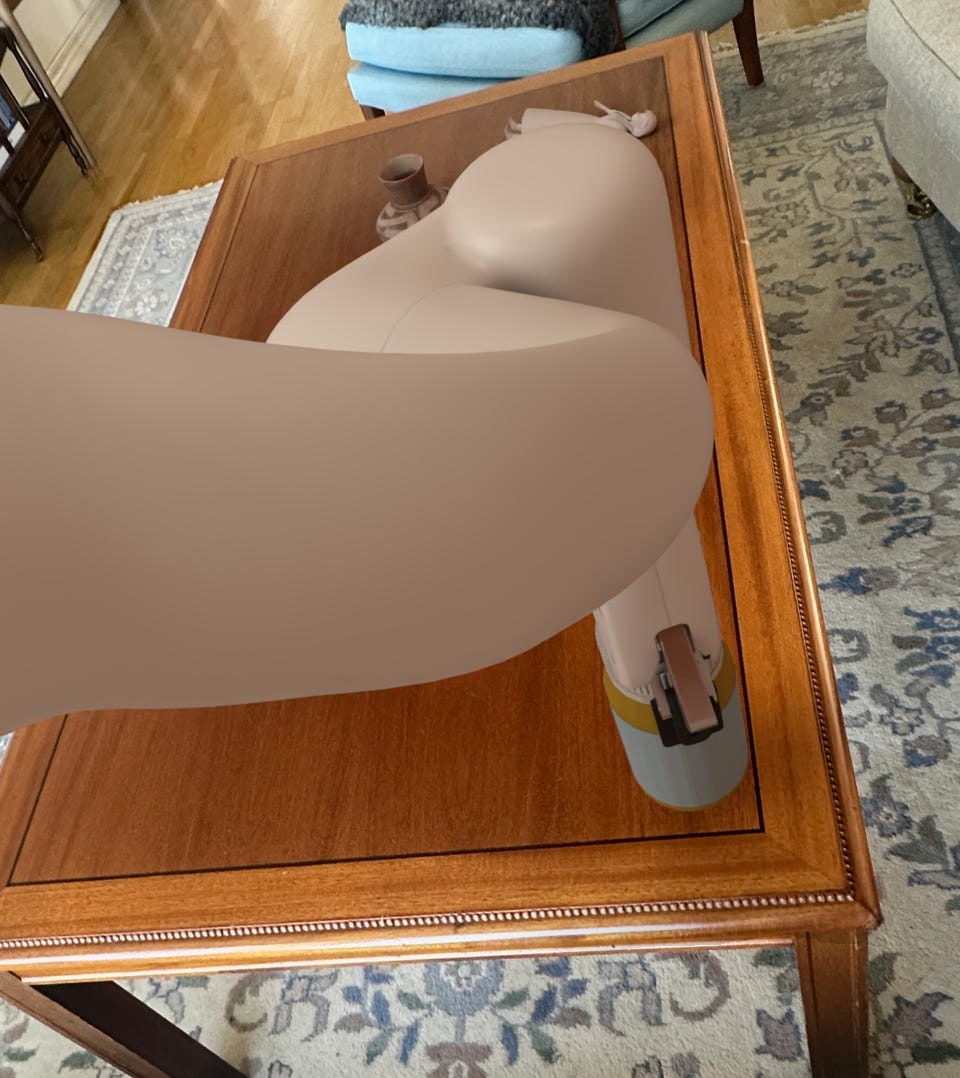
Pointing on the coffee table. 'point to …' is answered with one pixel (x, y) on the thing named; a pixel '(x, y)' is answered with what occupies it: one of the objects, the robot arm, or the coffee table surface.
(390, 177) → the pottery
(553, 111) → the woman figurine
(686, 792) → the bottle
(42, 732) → the coffee table surface
